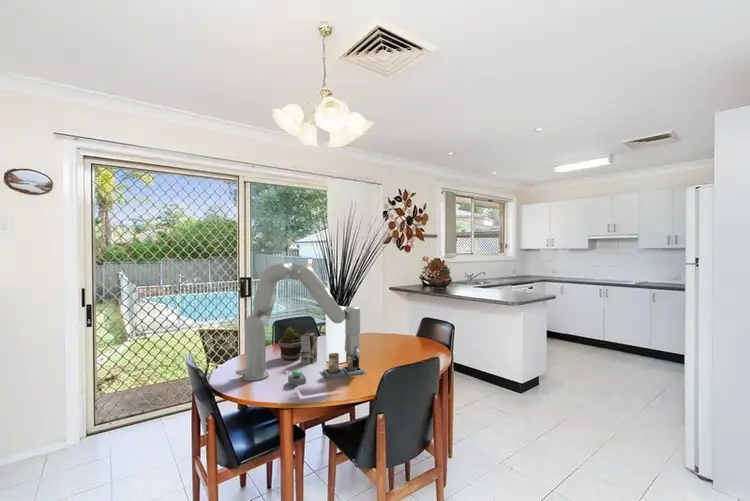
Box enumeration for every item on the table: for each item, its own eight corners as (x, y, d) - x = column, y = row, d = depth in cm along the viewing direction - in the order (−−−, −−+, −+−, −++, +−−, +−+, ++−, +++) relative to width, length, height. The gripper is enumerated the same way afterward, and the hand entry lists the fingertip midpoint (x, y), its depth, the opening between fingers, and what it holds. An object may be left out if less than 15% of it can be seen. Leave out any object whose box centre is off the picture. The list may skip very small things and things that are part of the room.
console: (290, 387, 167) (290, 380, 167) (288, 382, 173) (288, 375, 173) (305, 385, 169) (305, 378, 169) (302, 380, 176) (302, 373, 176)
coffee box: (311, 365, 199) (311, 336, 199) (300, 364, 200) (300, 335, 200) (317, 360, 208) (317, 332, 208) (307, 359, 209) (307, 332, 209)
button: (293, 381, 168) (293, 373, 168) (291, 378, 172) (291, 370, 172) (302, 380, 170) (302, 372, 170) (300, 377, 174) (300, 369, 174)
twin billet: (330, 376, 178) (330, 355, 178) (327, 373, 183) (327, 353, 183) (340, 375, 180) (340, 354, 180) (336, 372, 185) (337, 351, 185)
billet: (349, 373, 182) (349, 353, 182) (346, 370, 187) (346, 350, 187) (358, 372, 184) (358, 352, 184) (355, 369, 189) (355, 349, 189)
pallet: (325, 382, 174) (325, 376, 174) (318, 374, 185) (318, 369, 185) (367, 376, 182) (367, 370, 182) (359, 369, 193) (359, 363, 193)
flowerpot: (282, 354, 220) (282, 321, 220) (307, 355, 218) (307, 322, 218) (273, 361, 205) (273, 326, 205) (300, 362, 204) (300, 327, 204)
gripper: (340, 328, 192) (340, 360, 192) (351, 335, 176) (351, 370, 176) (353, 327, 195) (353, 358, 195) (365, 333, 179) (365, 368, 179)
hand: (352, 364), depth 185 cm, fingers open, 9 cm apart
